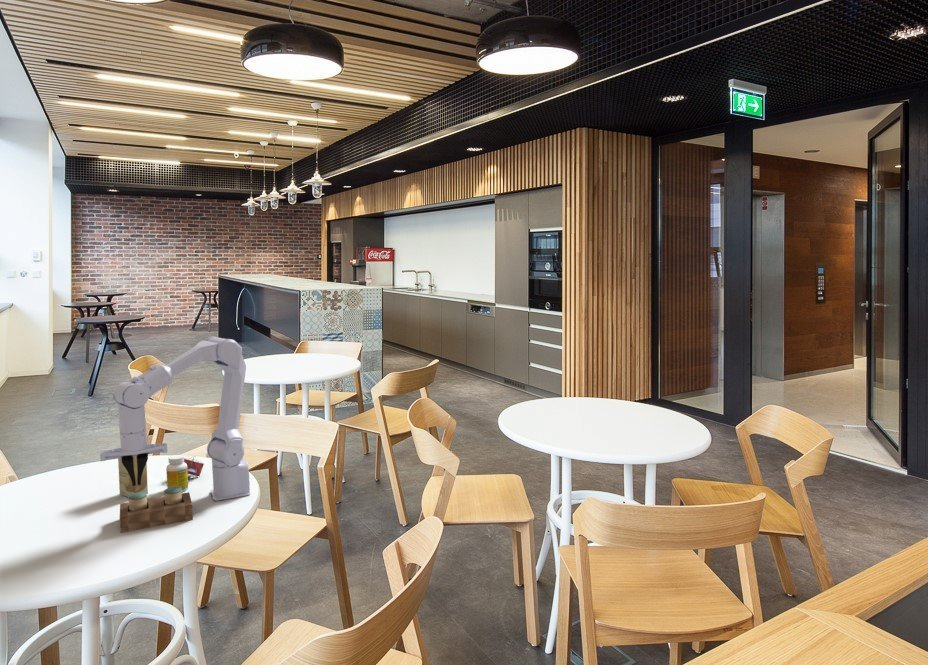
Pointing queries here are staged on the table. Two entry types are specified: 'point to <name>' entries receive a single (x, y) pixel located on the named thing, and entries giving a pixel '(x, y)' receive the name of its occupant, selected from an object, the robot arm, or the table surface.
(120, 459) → the skincare box
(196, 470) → the geometric puzzle
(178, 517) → the walnut block
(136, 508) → the peg
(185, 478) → the supplement bottle
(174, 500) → the peg
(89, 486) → the table surface
